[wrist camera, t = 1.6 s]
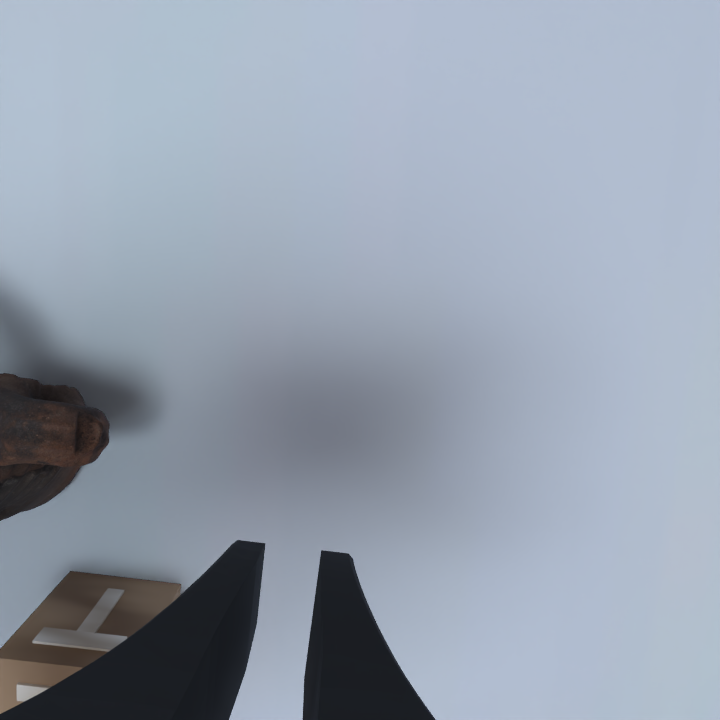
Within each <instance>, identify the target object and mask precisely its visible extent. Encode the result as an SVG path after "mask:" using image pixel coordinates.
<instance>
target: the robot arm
mask: <svg viewBox="0 0 720 720" xmlns="http://www.w3.org/2000/svg"><path fill="white" fill-rule="evenodd" d="M264 551H265V543H257V542H249V541H241V540H237V541H236V542H235V543H233V544H232V545H231V546H230V547H229V548H228V549H227V550H226V551H225V552H224V554H223V555H222V556H221V557H220V558H219V559H218V560H217V561H216V562H215V563H214V564H213V565H212V566H211V567H210V568H209V569H208V570H207V571H206V572H205V573H204V574H203V575H202V576H201V577H200V578H199V579H197V580H196V581H195V582H194V583H193V584H192V585H191V586H190V587H189V588H188V589H187V590H186V591H185V592H183V593H182V594H181V595H180V596H179V597H178V598H177V599H176V600H175V601H173V602H172V603H171V604H170V605H169V606H167V607H166V608H165V609H164V610H162V611H161V612H160V613H159V614H158V615H156V616H155V617H154V618H153V619H152V620H150V621H149V622H148V623H147V624H145V625H144V626H143V627H142V628H140V629H139V630H138V631H136V632H135V633H134V634H132V635H131V636H130V637H128V638H127V639H126V640H124V641H123V642H121V643H120V644H119V645H117V646H116V647H114V648H113V649H111V650H110V651H109V652H107V653H106V654H104V655H103V656H101V657H100V658H98V659H97V660H95V661H94V662H92V663H90V664H89V665H87V666H85V667H84V668H82V669H80V670H79V671H77V672H75V673H74V674H72V675H70V676H69V677H67V678H65V679H64V680H62V681H60V682H59V683H57V684H55V685H54V686H52V687H50V688H49V689H47V690H45V691H43V692H41V693H40V694H38V695H36V696H34V697H32V698H30V699H28V700H26V701H24V702H23V703H21V704H19V705H17V706H15V707H13V708H11V709H9V710H7V711H5V712H3V713H1V714H0V720H229V718H230V715H231V712H232V709H233V706H234V703H235V700H236V697H237V694H238V692H239V689H240V686H241V683H242V680H243V677H244V674H245V671H246V667H247V663H248V659H249V654H250V650H251V646H252V642H253V637H254V633H255V629H256V624H257V616H258V607H259V597H260V588H261V579H262V569H263V560H264ZM303 720H435V718H434V717H433V716H432V714H431V713H430V711H429V710H428V709H427V707H426V706H425V704H424V703H423V702H422V700H421V699H420V697H419V696H418V695H417V693H416V691H415V690H414V688H413V687H412V685H411V684H410V682H409V681H408V679H407V678H406V676H405V675H404V673H403V671H402V670H401V668H400V666H399V665H398V663H397V661H396V659H395V658H394V656H393V654H392V652H391V650H390V649H389V647H388V645H387V643H386V641H385V639H384V637H383V635H382V633H381V631H380V629H379V627H378V625H377V623H376V621H375V619H374V617H373V614H372V612H371V610H370V608H369V606H368V603H367V601H366V598H365V596H364V593H363V591H362V588H361V585H360V583H359V580H358V577H357V573H356V570H355V566H354V562H353V559H352V557H351V556H350V555H349V554H347V553H339V552H331V551H322V550H321V557H320V564H319V572H318V579H317V587H316V594H315V602H314V609H313V617H312V624H311V631H310V639H309V647H308V654H307V662H306V670H305V677H304V703H303Z"/></svg>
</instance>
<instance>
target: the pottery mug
mask: <svg viewBox="0 0 720 720" xmlns="http://www.w3.org/2000/svg"><path fill="white" fill-rule="evenodd" d="M108 433H109V422H108V420H107V418H106V416H105V415H104V413H103V412H102V411H100V410H98V409H96V408H91V407H86V406H85V403H84V400H83V398H82V396H81V395H80V393H79V391H78V390H77V389H76V388H70V387H68V386H66V385H56V386H53V385H42V384H40V382H39V381H37V380H33V379H27V378H20V377H18V376H16V375H13V374H6V373H4V374H0V521H1V520H3V519H6V518H9V517H11V516H13V515H15V514H17V513H19V512H23V511H27V510H30V509H33V508H36V507H38V506H40V505H42V504H44V503H46V502H48V501H49V500H51V499H52V498H53V497H55V496H56V495H57V494H58V493H60V492H61V491H62V490H63V489H64V488H65V487H66V486H67V485H68V484H69V483H70V482H71V481H72V479H73V478H74V476H75V474H76V472H77V471H78V470H79V468H80V467H81V466H83V465H86V464H89V463H92V462H94V461H95V460H96V459H97V458H98V457H99V455H100V454H101V452H102V451H103V449H104V448H105V447H106V446H107V445H108V443H109V435H108Z"/></svg>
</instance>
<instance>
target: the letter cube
mask: <svg viewBox="0 0 720 720" xmlns="http://www.w3.org/2000/svg"><path fill="white" fill-rule="evenodd" d="M180 590H181V584H175V583H167V582H159V581H150V580H142V579H133V578H125V577H116V576H108V575H100V574H91V573H83V572H74V571H70V572H69V573H68V574H67V575H66V576H65V578H64V579H63V580H62V581H61V582H60V583H59V584H58V585H57V586H56V588H55V589H54V590H53V591H52V592H51V593H50V594H49V595H48V596H47V598H46V599H45V600H44V601H43V602H42V603H41V604H40V605H39V606H38V608H37V609H36V610H35V611H34V612H33V613H32V614H31V615H30V616H29V618H28V619H27V620H26V621H25V622H24V623H23V624H22V625H21V626H20V628H19V629H18V630H17V631H16V632H15V633H14V634H13V635H12V636H11V638H10V639H9V640H8V641H7V642H6V643H5V644H4V645H3V646H2V648H1V649H0V714H1V713H3V712H5V711H7V710H9V709H11V708H13V707H15V706H17V705H19V704H21V703H23V702H24V701H26V700H28V699H30V698H32V697H34V696H36V695H38V694H40V693H41V692H43V691H45V690H47V689H49V688H50V687H52V686H54V685H55V684H57V683H59V682H60V681H62V680H64V679H65V678H67V677H69V676H70V675H72V674H74V673H75V672H77V671H79V670H80V669H82V668H84V667H85V666H87V665H89V664H90V663H92V662H94V661H95V660H97V659H98V658H100V657H101V656H103V655H104V654H106V653H107V652H109V651H110V650H111V649H113V648H114V647H116V646H117V645H119V644H120V643H121V642H123V641H124V640H126V639H127V638H128V637H130V636H131V635H132V634H134V633H135V632H136V631H138V630H139V629H140V628H142V627H143V626H144V625H145V624H147V623H148V622H149V621H150V620H152V619H153V618H154V617H155V616H156V615H158V614H159V613H160V612H161V611H162V610H164V609H165V608H166V607H167V606H169V605H170V604H171V603H172V602H173V601H175V600H176V599H177V598H178V597H179V596H180Z"/></svg>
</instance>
